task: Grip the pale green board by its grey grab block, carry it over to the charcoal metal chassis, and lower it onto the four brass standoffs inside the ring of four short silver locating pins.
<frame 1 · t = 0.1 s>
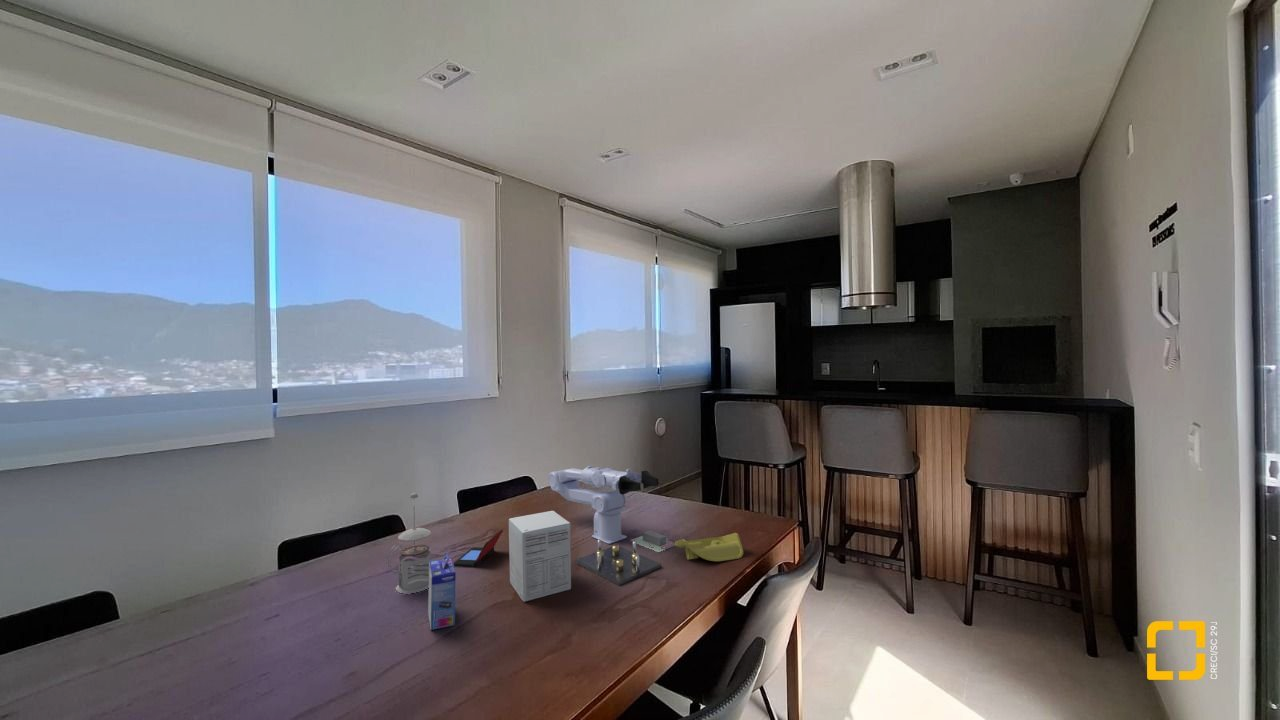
hand: (648, 484, 146), 22 cm above the table, tool horizontal, fingers open, 7 cm apart
plastic component: (707, 556, 144), on the table
ink cartridge box: (442, 619, 110), on the table
french press: (411, 587, 127), on the table
supplement box: (540, 586, 126), on the table
board: (654, 544, 155), on the table
handheld game console: (479, 560, 145), on the table
chassis: (617, 565, 138), on the table
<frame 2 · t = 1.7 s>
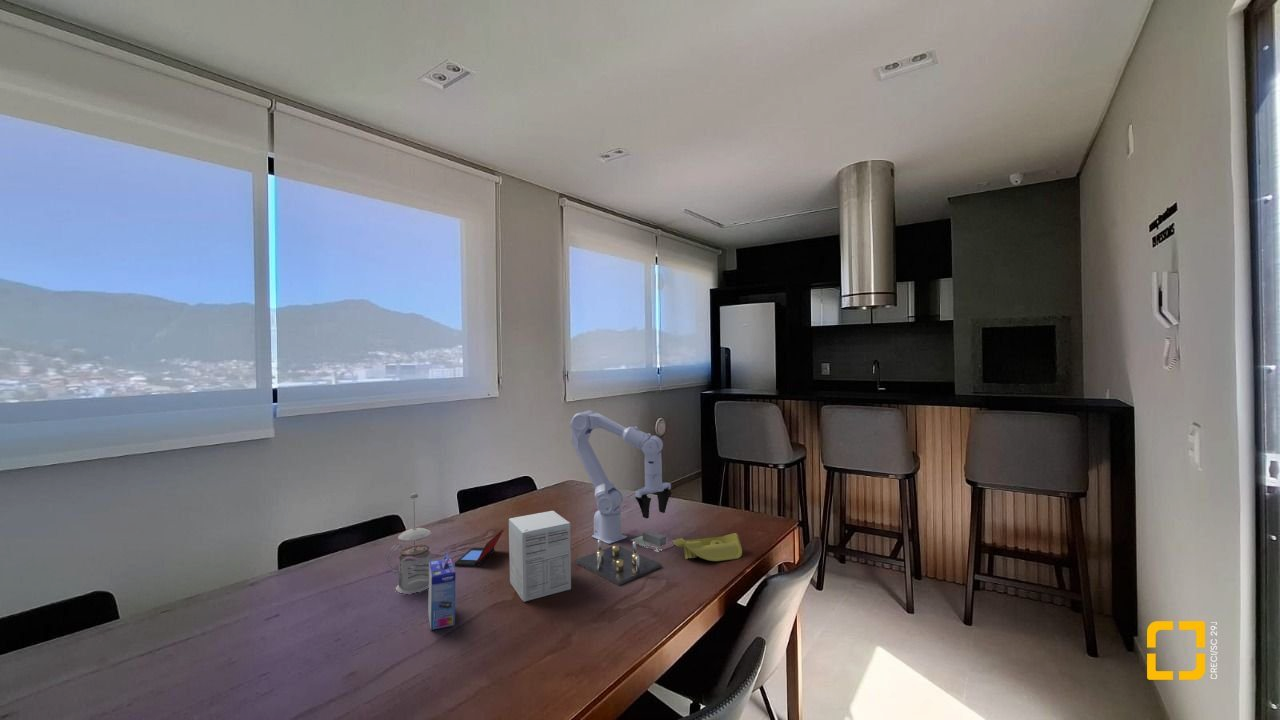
hand: (654, 514, 155), 9 cm above the table, tool pointing down, fingers open, 7 cm apart
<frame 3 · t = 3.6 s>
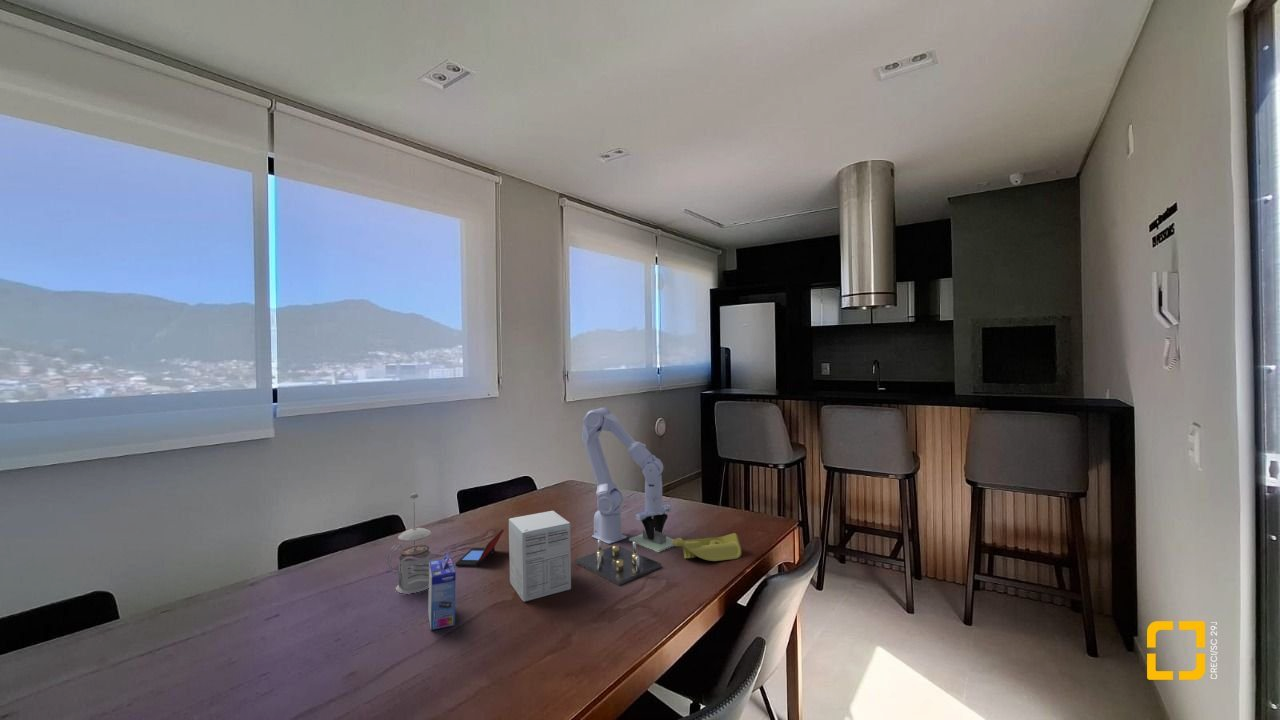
hand: (654, 537, 155), 2 cm above the table, tool pointing down, fingers closed on board, 3 cm apart
board: (654, 542, 155), on the table, touching gripper
everything else where it was.
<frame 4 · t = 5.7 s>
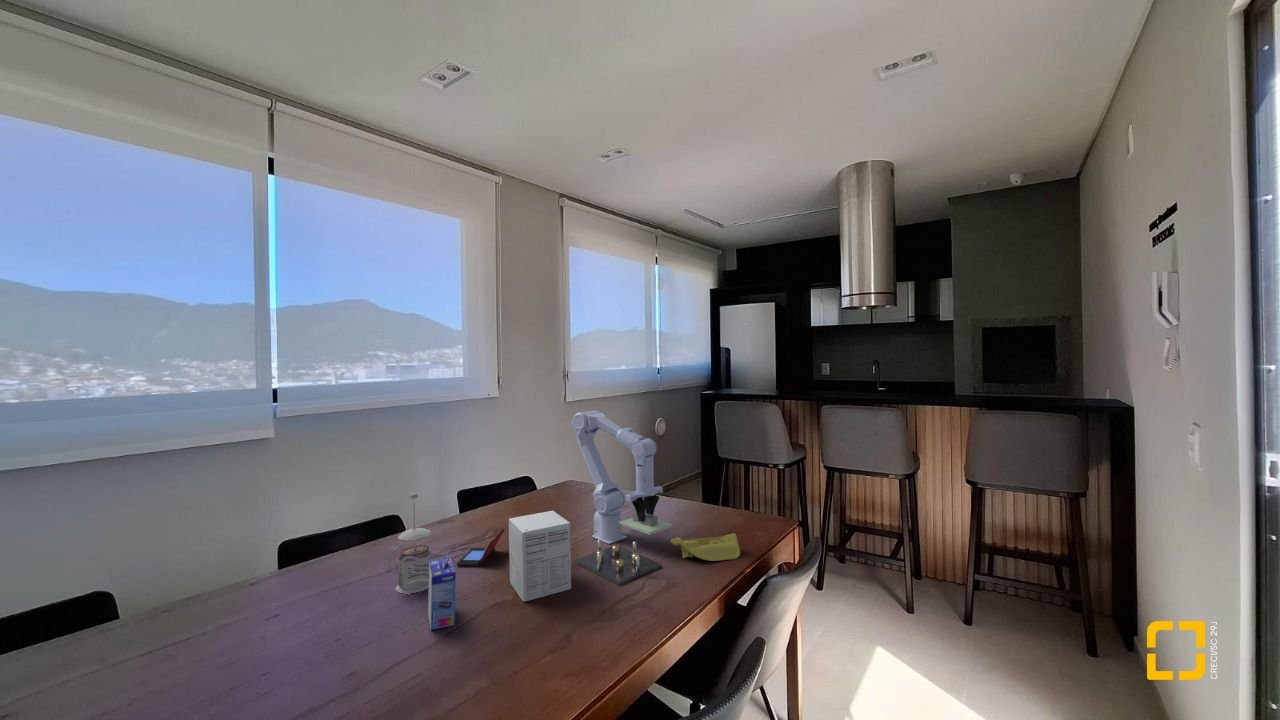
hand: (645, 519, 151), 9 cm above the table, tool pointing down, fingers closed on board, 3 cm apart
board: (645, 525, 151), point 7 cm above the table, touching gripper
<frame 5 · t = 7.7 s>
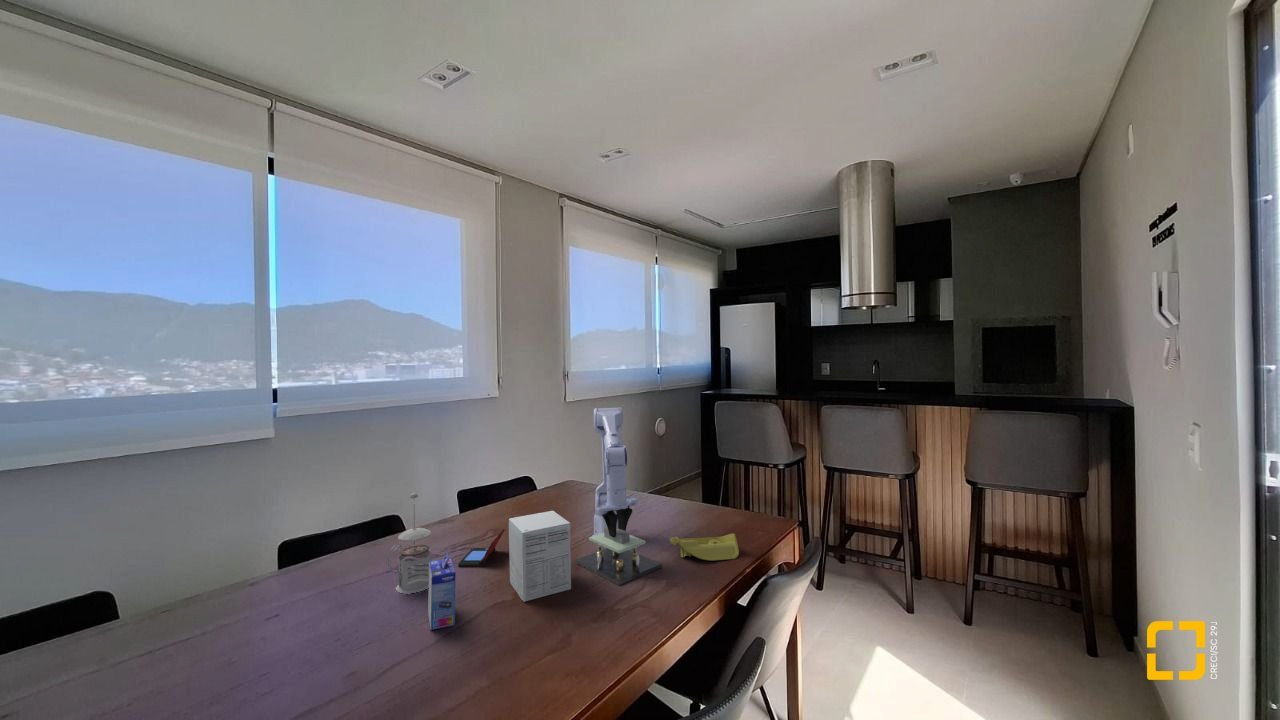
hand: (617, 534, 138), 9 cm above the table, tool pointing down, fingers closed on board, 3 cm apart
board: (616, 541, 138), point 7 cm above the table, touching gripper
when the fingers open (6 cm above the table, at t = 9.8 s): board stays where it is, resting on chassis.
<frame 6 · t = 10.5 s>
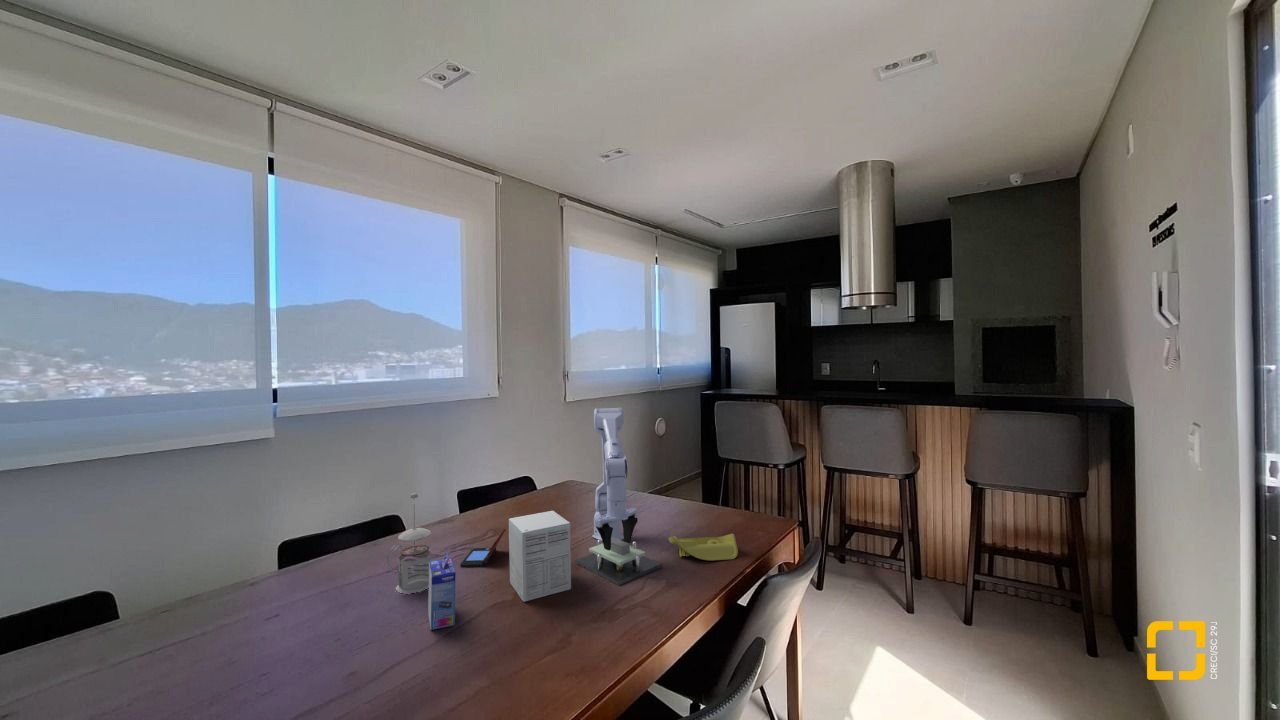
hand: (617, 545, 138), 6 cm above the table, tool pointing down, fingers open, 7 cm apart
board: (617, 552, 138), point 3 cm above the table, touching chassis
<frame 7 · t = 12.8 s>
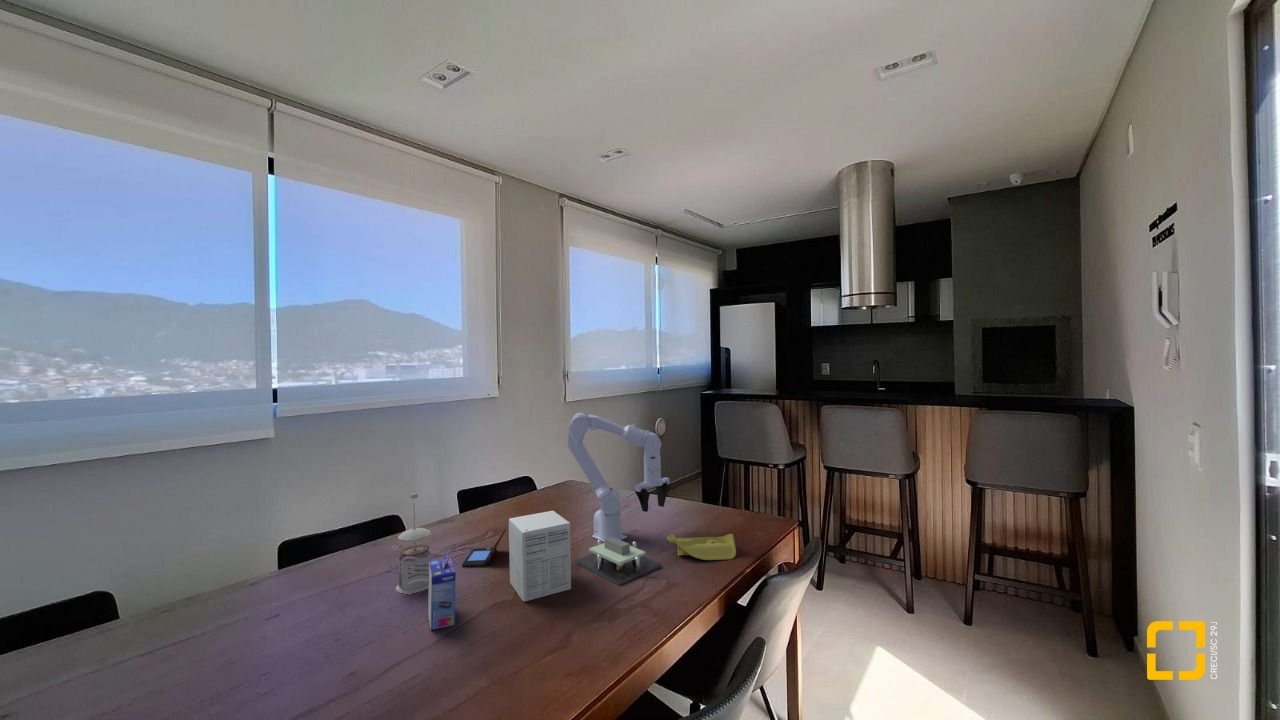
hand: (653, 508, 161), 9 cm above the table, tool pointing down, fingers open, 7 cm apart
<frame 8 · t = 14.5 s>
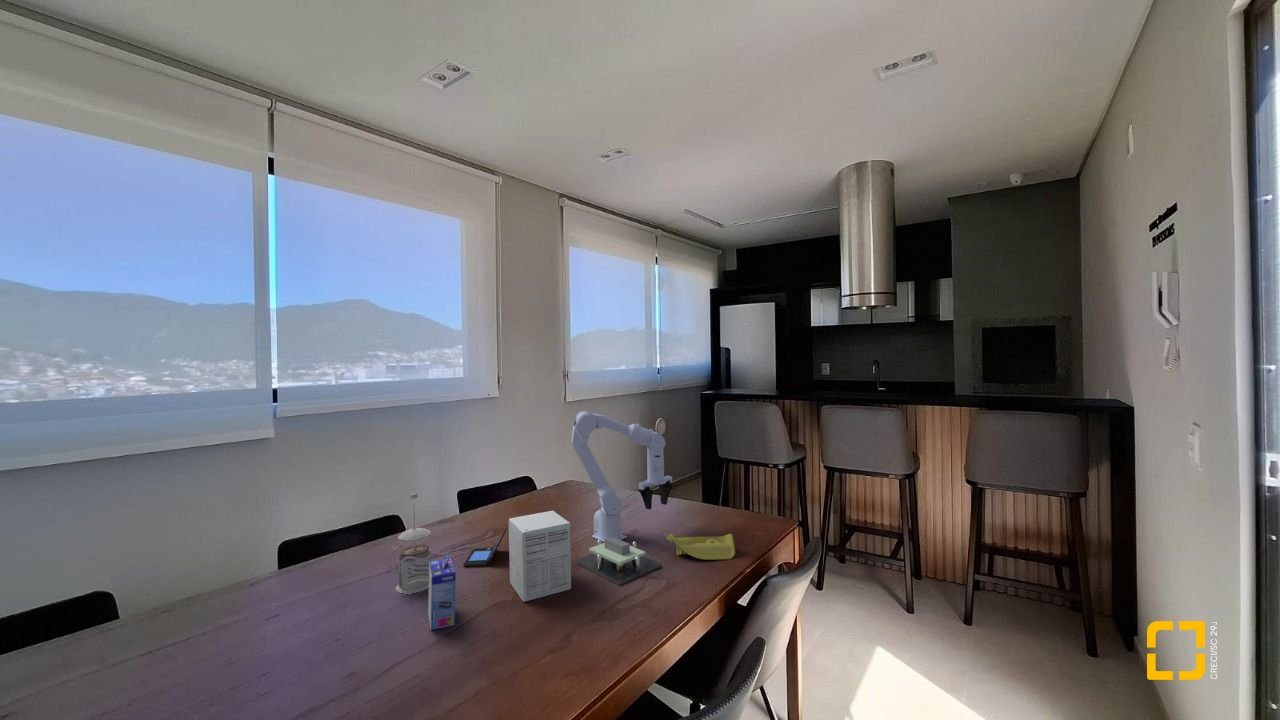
hand: (656, 506, 163), 9 cm above the table, tool pointing down, fingers open, 7 cm apart
at the end: board 0.3 cm off-centre on the chassis, point 3.5 cm above the chassis's base; board tilted 0°; the gripper is holding nothing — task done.
